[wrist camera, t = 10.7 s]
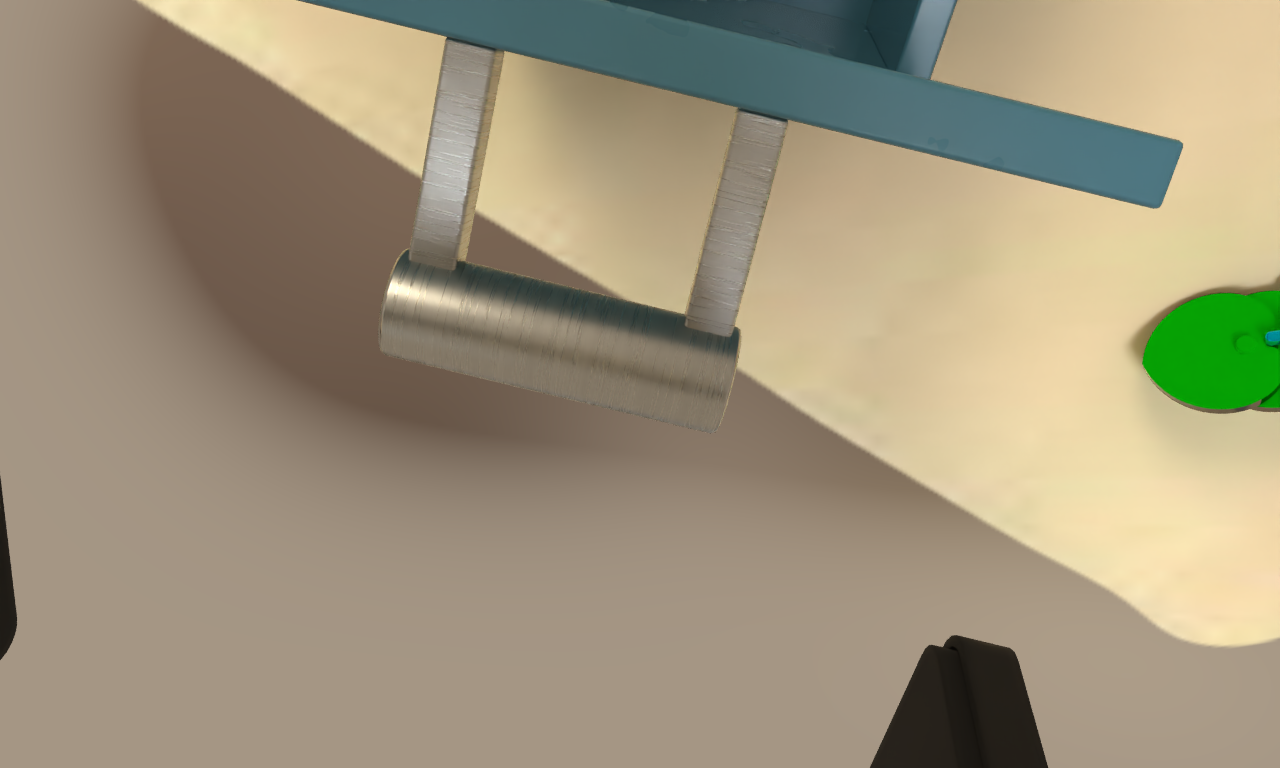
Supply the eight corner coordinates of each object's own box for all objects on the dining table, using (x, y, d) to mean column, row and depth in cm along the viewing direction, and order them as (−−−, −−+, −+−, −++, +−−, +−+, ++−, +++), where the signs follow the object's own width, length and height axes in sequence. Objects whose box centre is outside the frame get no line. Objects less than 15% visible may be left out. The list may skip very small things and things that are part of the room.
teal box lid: (49, -137, 12) (19, 318, 13) (1188, 141, 12) (1031, 561, 14) (408, -15, 26) (374, 197, 28) (922, 111, 27) (861, 315, 28)
